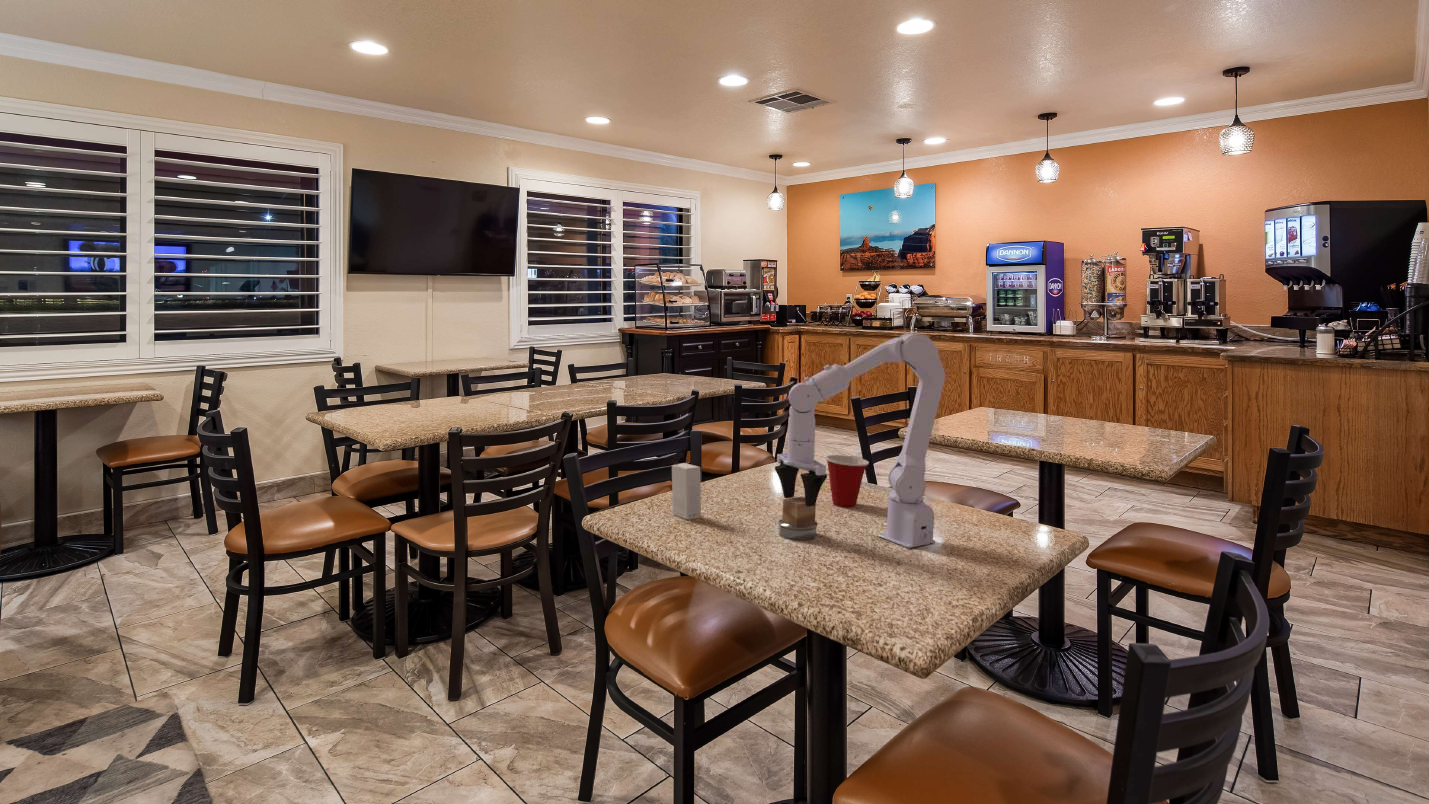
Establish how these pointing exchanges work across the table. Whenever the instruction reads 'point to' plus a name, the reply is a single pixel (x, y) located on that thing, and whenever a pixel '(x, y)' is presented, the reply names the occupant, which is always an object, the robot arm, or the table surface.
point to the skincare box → (686, 491)
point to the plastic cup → (845, 478)
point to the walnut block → (798, 512)
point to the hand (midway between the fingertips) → (799, 501)
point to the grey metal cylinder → (797, 531)
